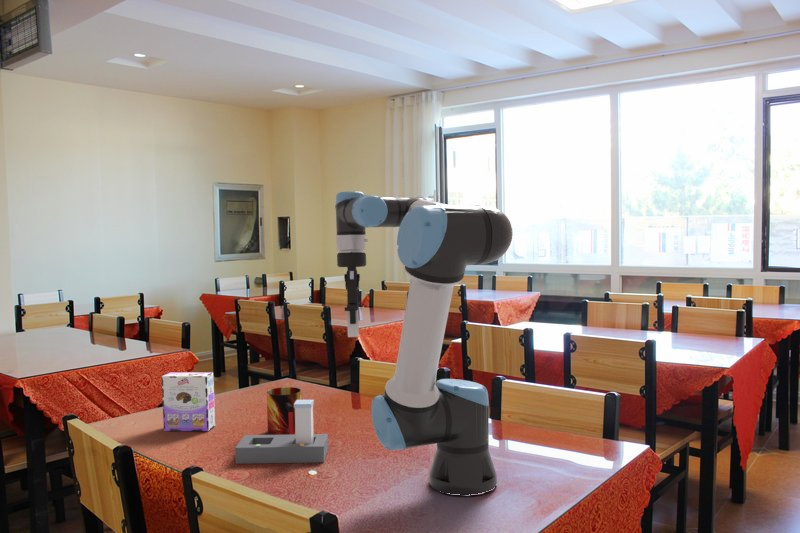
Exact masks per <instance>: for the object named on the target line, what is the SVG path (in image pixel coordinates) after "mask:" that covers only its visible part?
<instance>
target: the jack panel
mask: <svg viewBox="0 0 800 533" xmlns="http://www.w3.org/2000/svg"><path fill="white" fill-rule="evenodd" d="M313 436H314V444H296V437H295V434H294V435H268V434H245V435H244V436H243V437H242V438H241V440H239V442H238V443H237V445H236V446H235V447H234V456H235V460H234V461H235V464H291V463H293V464H294V463H296V464H297V463H300V464H301V463H303V464H304V463H305V464H306V463H309V464H310V463H325V460H326V458H327V454H328V451H329V433H317V434H316V433H313Z"/></svg>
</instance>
